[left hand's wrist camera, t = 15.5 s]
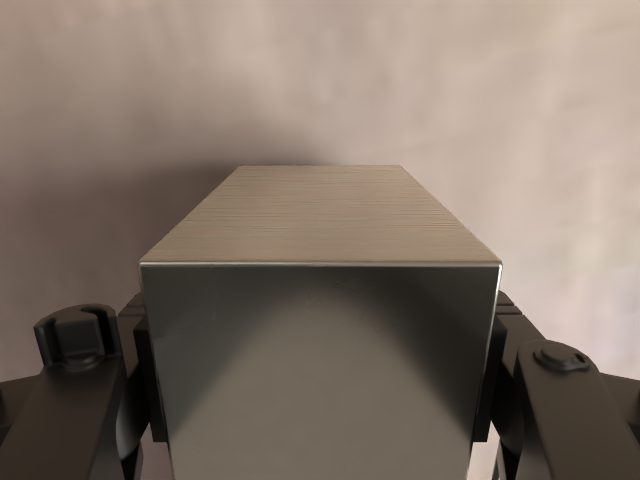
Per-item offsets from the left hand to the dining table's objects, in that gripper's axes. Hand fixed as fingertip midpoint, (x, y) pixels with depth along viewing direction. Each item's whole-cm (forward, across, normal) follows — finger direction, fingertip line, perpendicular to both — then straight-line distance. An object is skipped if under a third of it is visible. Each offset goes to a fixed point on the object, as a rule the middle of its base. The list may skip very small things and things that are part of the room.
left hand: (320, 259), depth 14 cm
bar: (+1, 0, -8) cm, 8 cm away
